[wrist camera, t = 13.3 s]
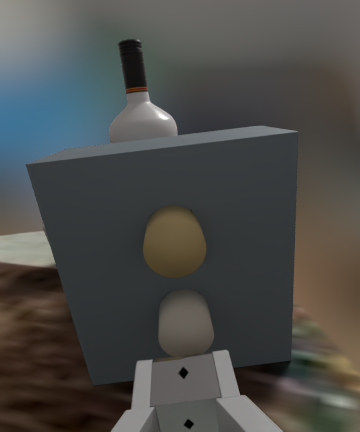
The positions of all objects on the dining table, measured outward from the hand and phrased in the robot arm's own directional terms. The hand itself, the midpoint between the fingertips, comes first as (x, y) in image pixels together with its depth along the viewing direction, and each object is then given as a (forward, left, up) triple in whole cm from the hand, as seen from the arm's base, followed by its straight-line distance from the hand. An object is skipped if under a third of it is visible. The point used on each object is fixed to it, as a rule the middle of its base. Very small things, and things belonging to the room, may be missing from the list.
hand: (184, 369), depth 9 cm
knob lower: (+14, +8, -9) cm, 18 cm away
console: (+14, +8, -14) cm, 21 cm away
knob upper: (+14, +8, -2) cm, 16 cm away
